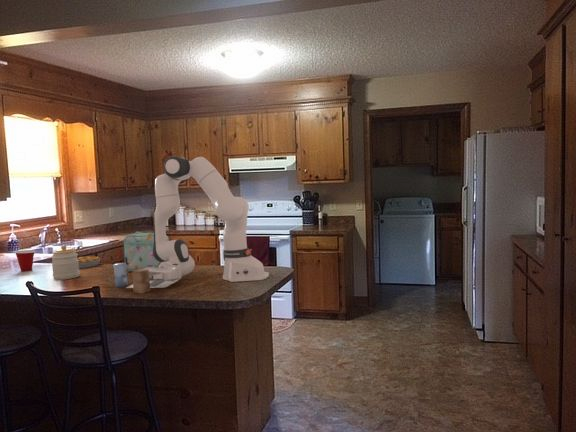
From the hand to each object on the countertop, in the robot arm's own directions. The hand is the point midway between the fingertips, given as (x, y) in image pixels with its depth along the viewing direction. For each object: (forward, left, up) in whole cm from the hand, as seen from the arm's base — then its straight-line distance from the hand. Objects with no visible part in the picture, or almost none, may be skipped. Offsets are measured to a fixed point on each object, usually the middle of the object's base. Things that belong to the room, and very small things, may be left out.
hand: (145, 277), depth 209 cm
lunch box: (+23, -48, -7) cm, 54 cm away
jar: (+62, -32, -7) cm, 70 cm away
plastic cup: (+103, -53, -7) cm, 116 cm away
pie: (+75, -65, -7) cm, 99 cm away
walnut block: (+1, +2, -6) cm, 7 cm away
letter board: (+3, -13, -6) cm, 15 cm away
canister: (+17, -9, -6) cm, 20 cm away
